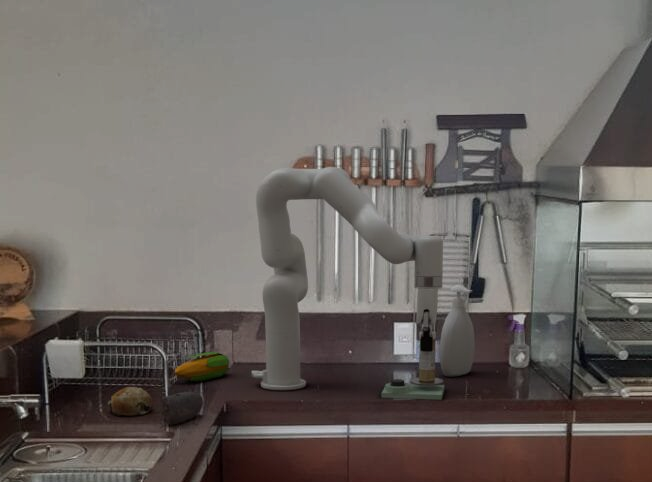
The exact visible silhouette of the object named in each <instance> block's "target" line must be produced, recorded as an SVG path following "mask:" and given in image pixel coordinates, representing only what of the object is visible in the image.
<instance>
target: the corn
mask: <svg viewBox="0 0 652 482" xmlns="http://www.w3.org/2000/svg"><path fill="white" fill-rule="evenodd" d="M193 358H194V359H193ZM188 359H191V360H189V361H187V362H184V363H182V364H181V365H179V366H177V367H176V368H175V370H174V372H173V375H174V376H176V377H177V378H181V379H182V378H183V379H189V381H190V382H205V381H210V380H212V379H217V378H221V377H222V376H223V375H224V374H225V373H227V371H228V370H229V369H228V368H229V365H230V363H231V362H230V359H229V358H228V356H227V355H226V354H225V355H224V354H223V353H220V352H218V351H207V352H202V353H199V354H195V355H192V356H189V357H188Z"/></svg>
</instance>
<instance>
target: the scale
mask: <svg viewBox="0 0 652 482" xmlns="http://www.w3.org/2000/svg"><path fill="white" fill-rule="evenodd" d="M444 392H445V384H441V385H435V386H421V385H415V384H412V383H407V382H404V386H401V387H394V386H391V382H388V383H385V385H384V388H383V390H382V391H381V393H380V394H381V397H380V398H382V399H383V398H384V399H409V400H413V399H415V400H436V401H437V400H438V401H439V400H440V401H441V400H442V399H443V397H444Z"/></svg>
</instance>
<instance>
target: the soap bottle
mask: <svg viewBox="0 0 652 482" xmlns="http://www.w3.org/2000/svg"><path fill="white" fill-rule="evenodd" d="M450 292H451V293H456V297H453V299H451V309H450V311H449V312H448V314H447V315H446V317H445V320H444V322H443V326H442V329H441V334H440V342H439V363H440V369H441V371H442V374H443V375H444V376H445V377H449V378H454V377H460V376H466V375H467V374H469V373H470V372H471V370H472V367H473V363H474V358H475V331H474V330H475V329H474V324H473V322H472V319H471V317H470V315H469V313H468V312H467V310H466V308H465V307H466V305H465V302H466V300H465V299H464V298H463V297H461V293H467V294H470V293H473V289H468V288H467V287H465V286H463V285H462V284H456V285H454V286H452V287H451V288H450Z"/></svg>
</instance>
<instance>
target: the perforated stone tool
mask: <svg viewBox="0 0 652 482" xmlns="http://www.w3.org/2000/svg"><path fill="white" fill-rule="evenodd" d="M160 403H161V407H160V412H159V413H160V414H161V416H162V422H164V424H167V425H171V426H172V425H177V424H182V423H184V422H186V421H189V420H191V419H193V418H195V417H197V415H199V413H200V412H201V411H202V408H203V404H204V401H203V397H202V396H201V394H199V393H198V392H194V391H183V392H178V393H174V394H171V395H166V396H163V397H161V398H160Z"/></svg>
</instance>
